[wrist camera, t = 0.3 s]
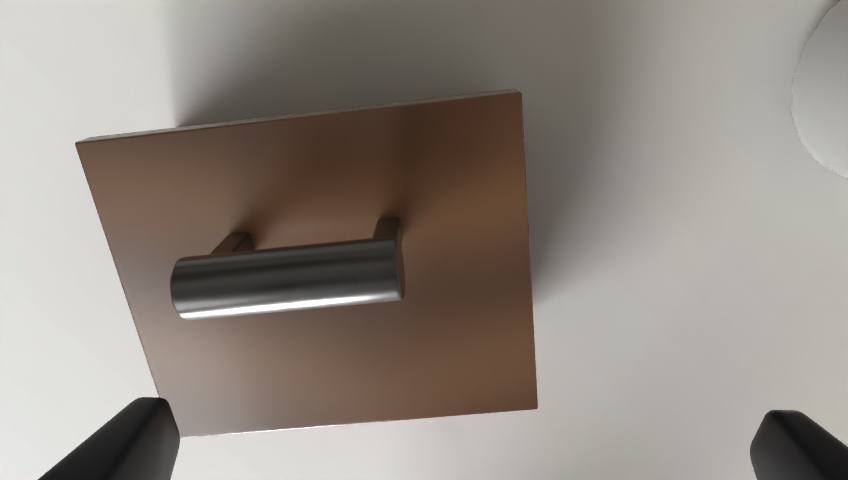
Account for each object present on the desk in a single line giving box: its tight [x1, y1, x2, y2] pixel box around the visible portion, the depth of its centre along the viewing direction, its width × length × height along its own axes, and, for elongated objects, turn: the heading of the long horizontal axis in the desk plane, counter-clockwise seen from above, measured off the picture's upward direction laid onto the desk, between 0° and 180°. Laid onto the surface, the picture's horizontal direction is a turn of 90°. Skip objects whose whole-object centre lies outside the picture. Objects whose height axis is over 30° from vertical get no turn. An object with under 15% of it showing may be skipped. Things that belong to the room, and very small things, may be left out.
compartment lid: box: [75, 89, 538, 438], centre depth 16 cm, size 10×13×5 cm
